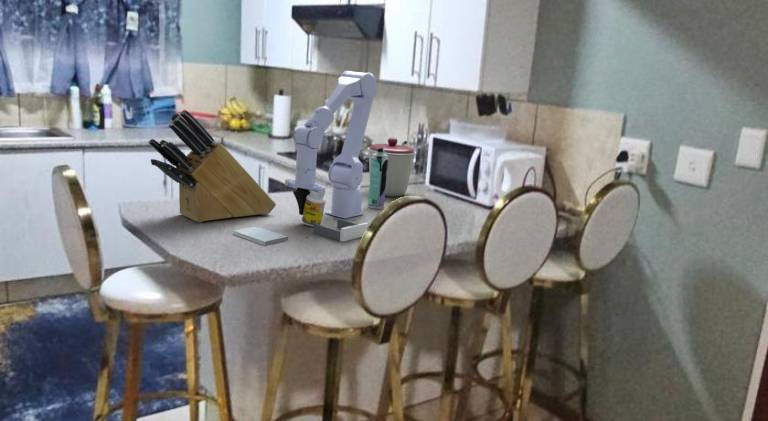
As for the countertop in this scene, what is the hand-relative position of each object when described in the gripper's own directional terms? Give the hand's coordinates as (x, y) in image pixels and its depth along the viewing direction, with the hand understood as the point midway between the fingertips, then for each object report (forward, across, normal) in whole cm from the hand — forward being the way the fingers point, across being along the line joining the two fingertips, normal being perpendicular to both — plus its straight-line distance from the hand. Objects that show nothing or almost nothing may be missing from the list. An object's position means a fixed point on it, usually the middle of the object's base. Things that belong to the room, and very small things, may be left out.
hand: (302, 214), depth 183 cm
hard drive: (+3, +5, -20) cm, 21 cm away
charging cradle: (+2, +14, 0) cm, 15 cm away
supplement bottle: (+2, +3, 0) cm, 4 cm away
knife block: (+3, -19, -17) cm, 26 cm away
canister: (+2, -12, +56) cm, 58 cm away
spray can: (+2, -1, +35) cm, 35 cm away
